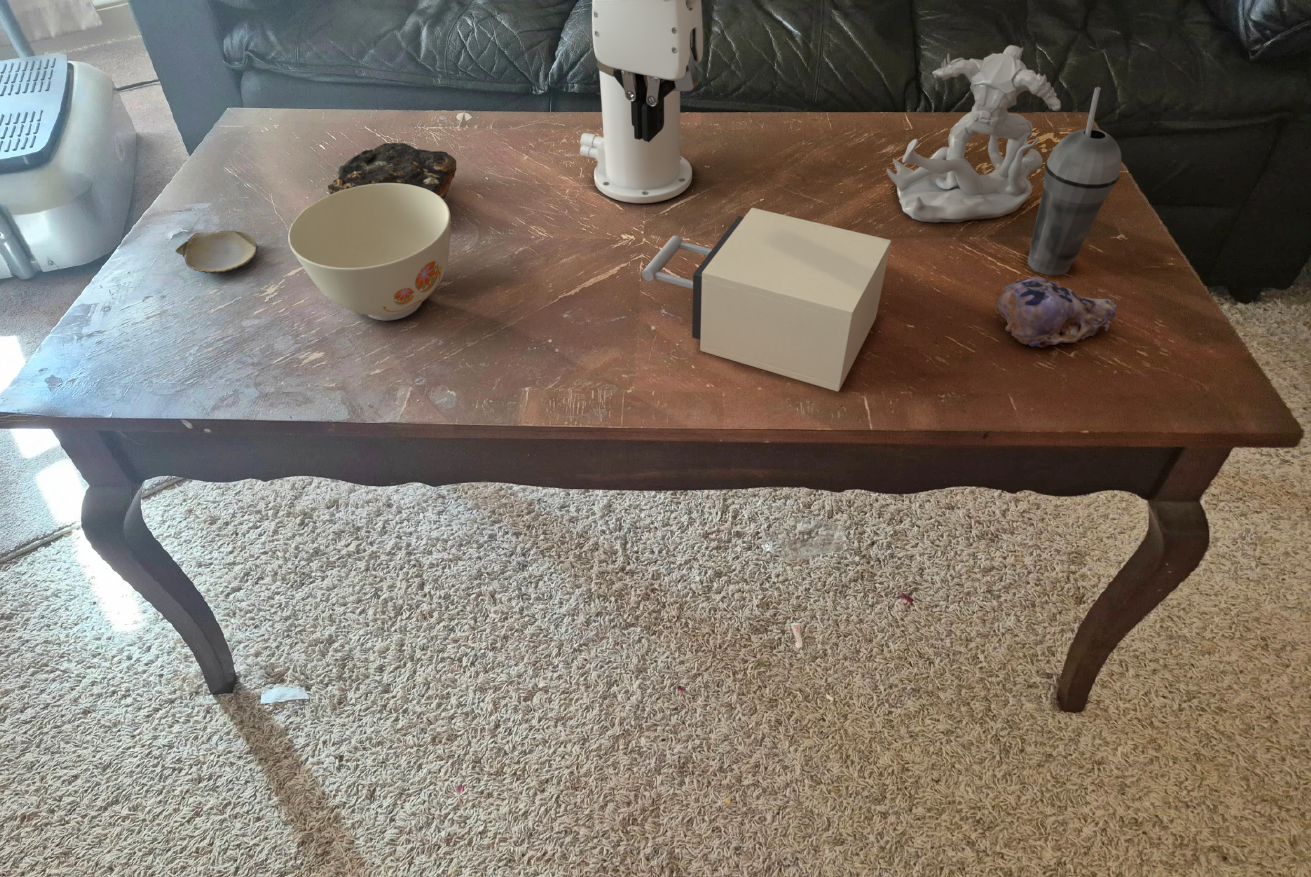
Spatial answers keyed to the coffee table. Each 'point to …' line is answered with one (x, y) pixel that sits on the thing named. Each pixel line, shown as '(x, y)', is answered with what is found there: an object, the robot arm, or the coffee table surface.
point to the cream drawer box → (792, 297)
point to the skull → (1051, 312)
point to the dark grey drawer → (668, 252)
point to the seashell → (218, 251)
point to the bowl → (375, 247)
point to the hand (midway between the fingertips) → (648, 134)
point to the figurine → (1008, 182)
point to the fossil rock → (398, 169)
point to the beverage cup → (1073, 195)
